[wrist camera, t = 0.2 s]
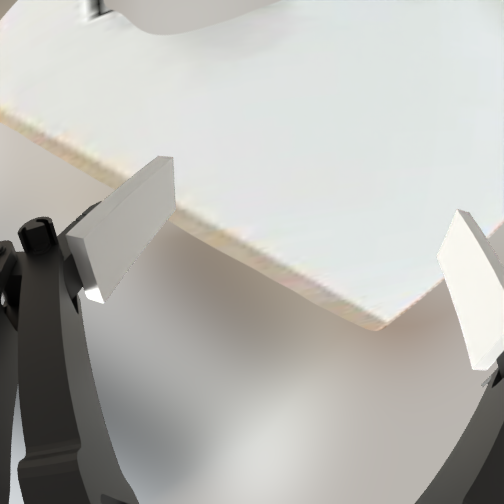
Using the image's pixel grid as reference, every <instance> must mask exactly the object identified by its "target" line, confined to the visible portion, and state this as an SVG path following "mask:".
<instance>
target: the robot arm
mask: <svg viewBox="0 0 504 504" xmlns="http://www.w3.org/2000/svg"><path fill="white" fill-rule="evenodd" d="M175 210H176V203H175V186H174V166H173V157H165V156H158V157H156V158H155V159H154V160H152V161H151V162H150V163H148V164H147V165H146V166H145V167H143V168H142V169H141V170H139V171H138V172H137V173H136V174H134V175H133V176H132V177H131V178H129V179H128V180H127V181H126V182H124V183H123V184H122V185H121V186H120V187H118V188H117V189H116V190H115V191H114V192H112V193H111V194H110V195H109V196H108V197H106V198H105V199H104V200H103V201H100V202H98V203H96V204H94V205H92V206H91V207H89V208H88V209H87V210H86V211H85V212H83V213H82V215H80V216H79V217H78V218H77V219H76V221H73V222H72V223H71V224H70V225H69V226H68V227H67V228H66V229H65V230H64V231H63V232H62V233H61V234H59V235H58V236H56V232H55V229H54V226H53V222H52V219H51V218H49V217H38V218H35V219H33V220H30V221H29V222H27V223H25V224H24V225H23V226H22V227H21V228H20V229H19V231H18V235H19V238H20V240H21V244H22V246H23V249H24V251H25V252H16V251H15V249H14V247H13V244H12V242H11V241H1V242H0V504H9V495H10V462H11V461H10V460H11V439H12V425H13V416H14V407H15V399H16V392H17V386H18V384H19V399H20V409H21V418H22V426H23V434H24V441H25V446H26V456H25V458H24V459H22V460H21V461H20V462H19V464H18V468H17V471H18V480H19V484H20V489H21V492H22V497H23V501H24V504H139V502H138V500H137V498H136V496H135V494H134V492H133V490H132V488H131V487H130V485H129V484H128V482H127V481H126V479H125V478H124V476H123V474H122V472H121V470H120V467H119V464H118V461H117V458H116V455H115V453H114V450H113V447H112V444H111V441H110V437H109V434H108V431H107V428H106V424H105V421H104V417H103V414H102V410H101V407H100V403H99V399H98V395H97V391H96V387H95V382H94V378H93V374H92V369H91V364H90V360H89V354H88V349H87V343H86V337H85V331H84V325H83V319H82V311H81V303H80V299H79V296H78V294H77V293H78V292H79V291H80V289H81V288H82V287H83V288H84V290H85V293H86V296H87V298H88V299H91V300H94V301H97V302H100V303H105V302H106V300H107V299H108V298H109V296H110V295H111V293H112V292H113V290H114V289H115V288H116V286H117V285H118V284H119V282H120V281H121V280H122V278H123V277H124V275H125V274H126V273H127V271H128V270H129V269H130V267H131V266H132V265H133V263H134V262H135V261H136V259H137V258H138V256H139V255H140V254H141V253H142V251H143V250H144V249H145V248H146V246H147V245H148V244H149V242H150V241H151V240H152V238H153V237H154V236H155V235H156V234H157V232H158V231H159V230H160V228H161V227H162V226H163V225H164V223H165V222H166V221H167V220H168V219H169V217H170V216H171V215H172V214H173V212H174V211H175ZM436 257H437V260H438V262H439V265H440V268H441V270H442V273H443V275H444V278H445V281H446V283H447V286H448V289H449V292H450V295H451V297H452V301H453V303H454V306H455V309H456V313H457V315H458V319H459V322H460V325H461V329H462V332H463V335H464V339H465V343H466V347H467V350H468V354H469V358H470V362H471V367H472V370H487V369H488V368H489V367H490V366H491V365H492V364H493V363H494V362H495V361H496V360H497V364H498V368H497V370H495V372H494V373H493V374H492V375H491V376H490V377H489V378H488V379H487V380H486V381H485V382H484V383H483V384H482V387H484V386H485V385H486V384H488V383H489V384H488V386H487V388H486V390H485V392H484V394H483V396H482V399H481V401H480V403H479V405H478V407H477V409H476V411H475V413H474V415H473V416H472V418H471V420H470V422H469V424H468V426H467V427H466V429H465V431H464V433H463V434H462V436H461V438H460V440H459V441H458V443H457V445H456V446H455V448H454V449H453V451H452V452H451V454H450V456H449V457H448V459H447V460H446V462H445V463H444V465H443V466H442V468H441V469H440V471H439V472H438V474H437V475H436V476H435V478H434V479H433V481H432V482H431V483H430V485H429V486H428V487H427V489H426V490H425V491H424V493H423V494H422V495H421V496H420V498H419V499H418V500H417V502H416V503H415V504H504V267H503V265H502V263H501V261H500V260H499V258H498V256H497V255H496V253H495V251H494V249H493V248H492V246H491V245H490V243H489V241H488V240H487V238H486V237H485V235H484V234H483V232H482V231H481V229H480V227H479V226H478V224H477V223H476V222H475V220H474V219H473V217H472V216H471V214H470V213H469V212H465V211H462V210H459V209H457V210H456V212H455V215H454V217H453V220H452V222H451V224H450V227H449V229H448V232H447V234H446V236H445V239H444V241H443V243H442V245H441V247H440V250H439V252H438V254H437V256H436ZM2 295H3V297H4V299H5V302H4V305H2V304H1V296H2Z"/></svg>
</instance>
